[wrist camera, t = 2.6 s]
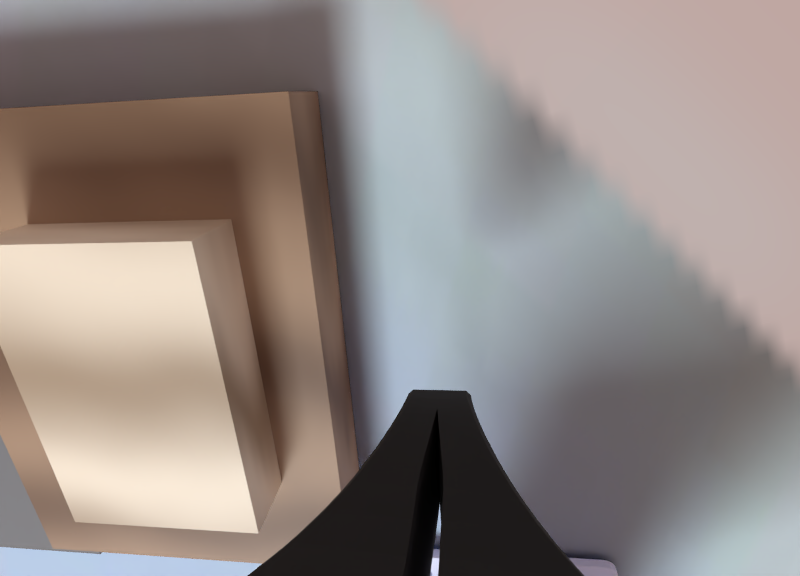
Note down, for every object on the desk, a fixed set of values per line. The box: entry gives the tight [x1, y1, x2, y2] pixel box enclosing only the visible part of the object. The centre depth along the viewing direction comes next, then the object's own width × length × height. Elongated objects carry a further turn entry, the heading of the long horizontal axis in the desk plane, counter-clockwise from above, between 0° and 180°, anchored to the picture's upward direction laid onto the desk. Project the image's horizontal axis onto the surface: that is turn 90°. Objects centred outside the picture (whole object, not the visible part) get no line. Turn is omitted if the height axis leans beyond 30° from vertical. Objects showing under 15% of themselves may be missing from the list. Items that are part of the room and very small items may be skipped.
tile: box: [0, 219, 282, 534], centre depth 14 cm, size 9×6×2 cm, turn 3°
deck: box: [0, 91, 359, 564], centre depth 16 cm, size 16×12×2 cm
